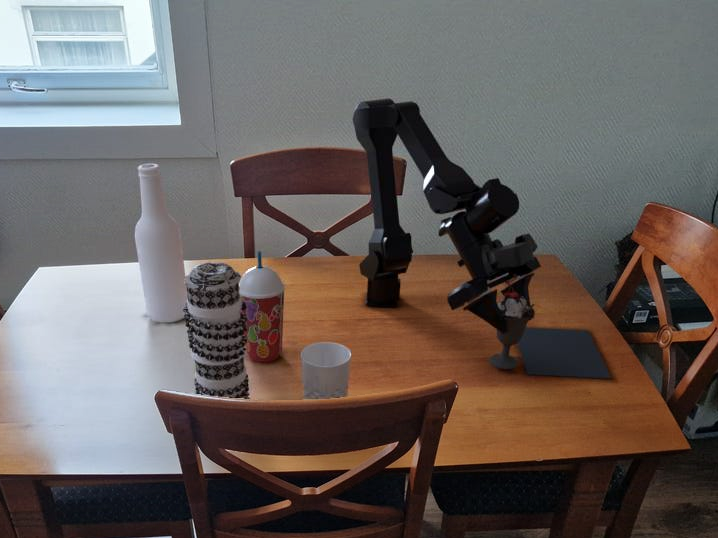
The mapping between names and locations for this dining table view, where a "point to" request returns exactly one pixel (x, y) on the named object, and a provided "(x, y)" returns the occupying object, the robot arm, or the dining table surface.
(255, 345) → the smoothie
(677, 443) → the dining table surface
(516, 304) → the sundae
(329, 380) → the white cup
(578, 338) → the dark blue rectangular panel
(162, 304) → the alcohol
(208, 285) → the decorative candle
